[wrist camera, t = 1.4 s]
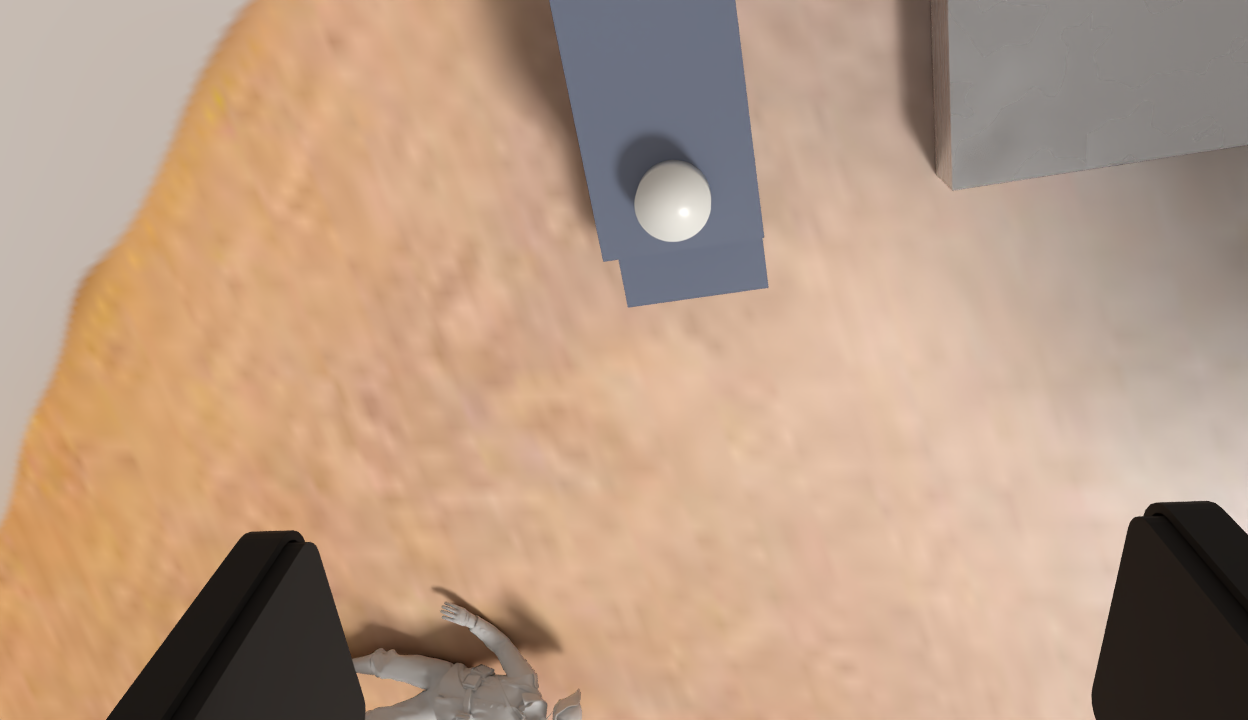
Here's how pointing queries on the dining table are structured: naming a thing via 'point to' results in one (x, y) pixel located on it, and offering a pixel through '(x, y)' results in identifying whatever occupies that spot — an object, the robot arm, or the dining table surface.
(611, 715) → the dining table surface
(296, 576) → the robot arm
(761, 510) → the dining table surface
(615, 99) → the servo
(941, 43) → the chassis
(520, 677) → the soldier figure
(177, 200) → the dining table surface
